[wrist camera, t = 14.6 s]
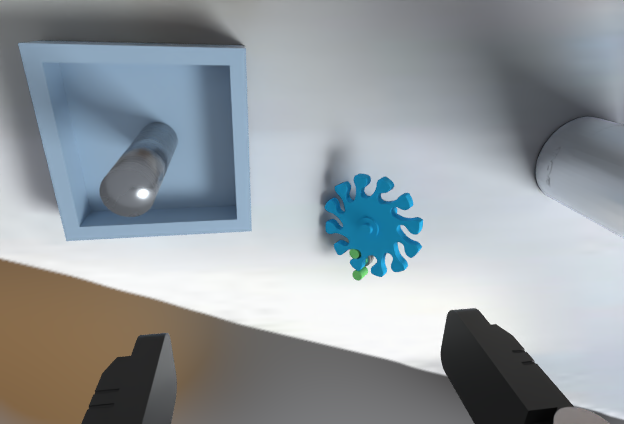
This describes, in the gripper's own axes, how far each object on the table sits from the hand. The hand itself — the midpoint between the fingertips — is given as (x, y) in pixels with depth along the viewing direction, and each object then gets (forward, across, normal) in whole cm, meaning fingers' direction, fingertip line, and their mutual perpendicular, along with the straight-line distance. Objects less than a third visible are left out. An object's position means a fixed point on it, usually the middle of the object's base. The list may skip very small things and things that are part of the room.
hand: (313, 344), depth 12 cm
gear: (+28, -9, +9) cm, 31 cm away
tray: (+27, +9, 0) cm, 29 cm away
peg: (+26, +9, 0) cm, 28 cm away
